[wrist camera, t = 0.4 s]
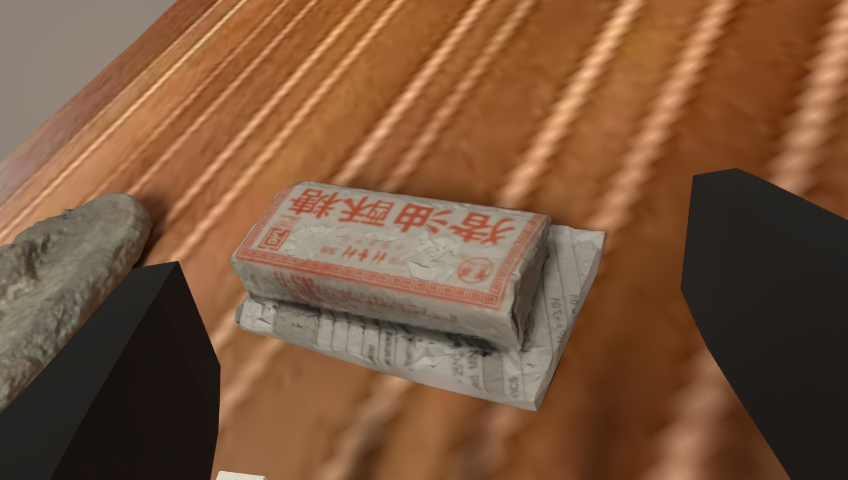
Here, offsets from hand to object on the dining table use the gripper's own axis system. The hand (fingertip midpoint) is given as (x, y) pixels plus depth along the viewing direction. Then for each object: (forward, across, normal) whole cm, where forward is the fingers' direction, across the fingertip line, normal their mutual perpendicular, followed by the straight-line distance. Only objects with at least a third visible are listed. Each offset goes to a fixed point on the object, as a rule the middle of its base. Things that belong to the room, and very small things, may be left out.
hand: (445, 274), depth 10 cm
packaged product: (+22, 0, +18) cm, 28 cm away
